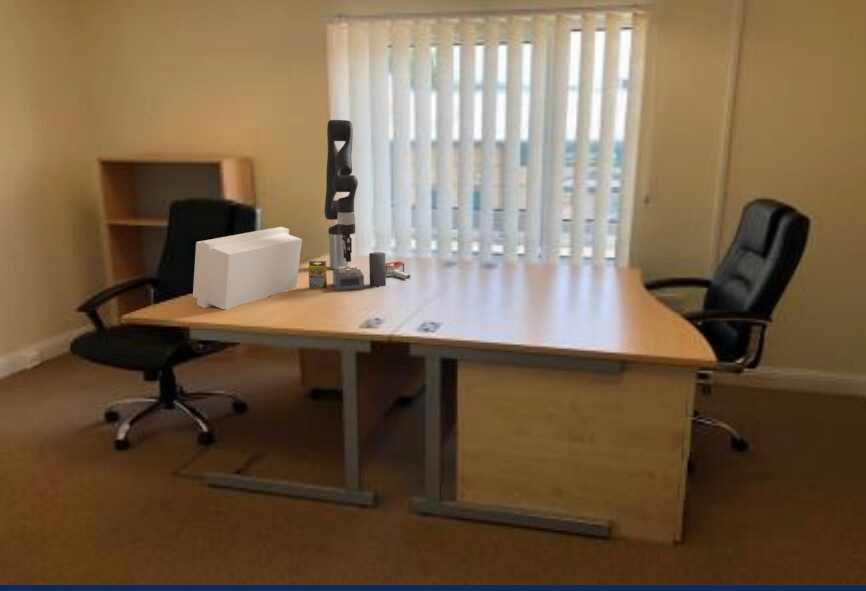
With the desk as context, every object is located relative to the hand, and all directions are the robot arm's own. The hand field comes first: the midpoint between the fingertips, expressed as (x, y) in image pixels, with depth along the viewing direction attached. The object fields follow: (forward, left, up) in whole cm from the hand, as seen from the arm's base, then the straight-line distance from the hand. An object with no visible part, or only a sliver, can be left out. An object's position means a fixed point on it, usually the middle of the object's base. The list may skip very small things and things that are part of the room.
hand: (347, 259), depth 297 cm
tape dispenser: (-18, +24, -12) cm, 33 cm away
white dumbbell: (0, 0, -6) cm, 6 cm away
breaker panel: (0, 0, -12) cm, 12 cm away
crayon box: (0, -13, -12) cm, 18 cm away
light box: (+10, -41, -12) cm, 44 cm away
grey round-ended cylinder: (0, +13, -12) cm, 18 cm away
